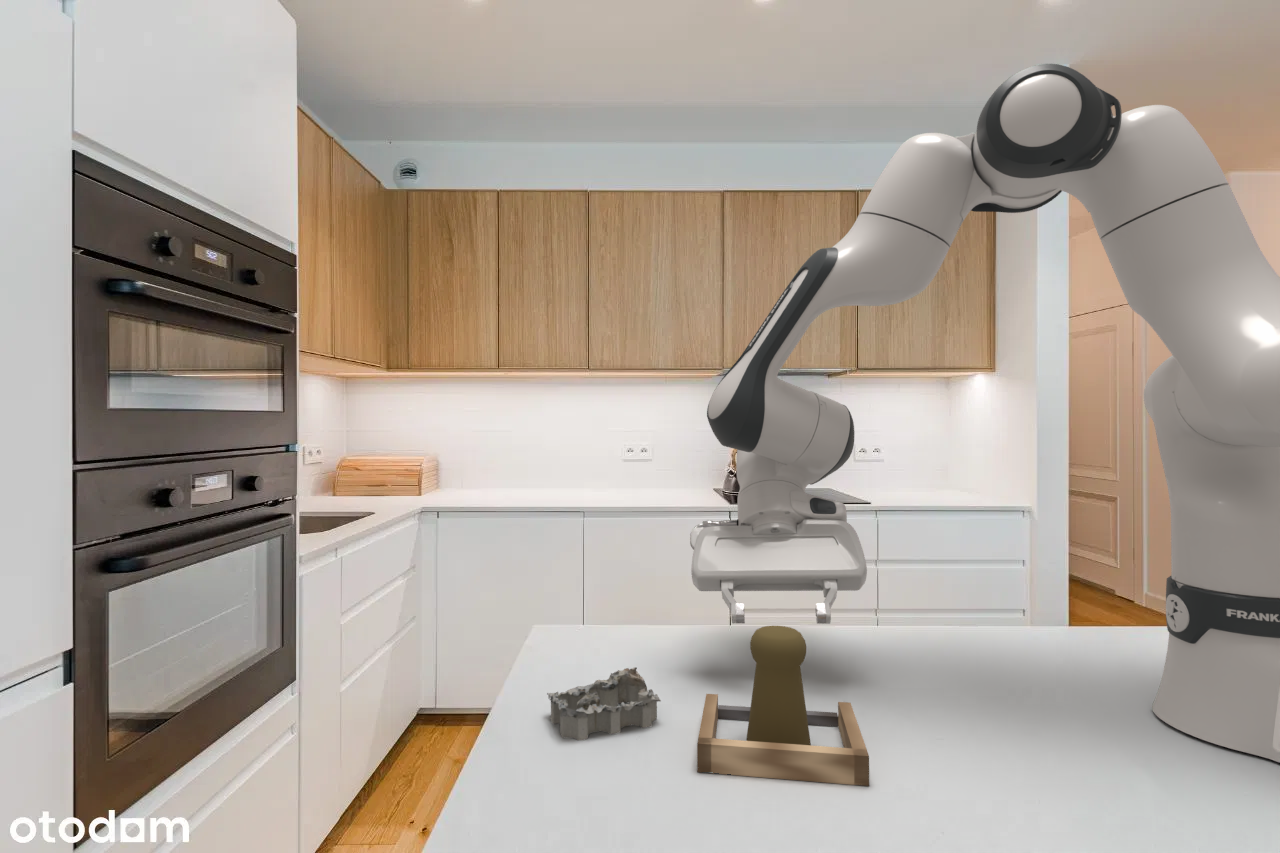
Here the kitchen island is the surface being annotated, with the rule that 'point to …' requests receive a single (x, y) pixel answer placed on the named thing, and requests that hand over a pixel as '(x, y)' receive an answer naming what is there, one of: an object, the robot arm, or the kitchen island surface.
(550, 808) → the kitchen island surface
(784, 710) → the cork
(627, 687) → the egg carton
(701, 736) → the bay
